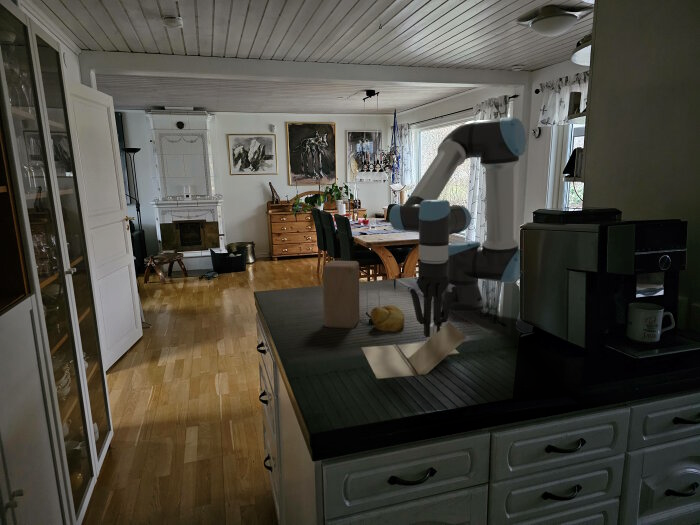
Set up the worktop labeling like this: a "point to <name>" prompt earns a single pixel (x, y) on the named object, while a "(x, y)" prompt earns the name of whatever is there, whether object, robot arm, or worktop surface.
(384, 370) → the laid board
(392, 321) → the bread roll
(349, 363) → the worktop surface
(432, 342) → the near plank
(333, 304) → the wooden block
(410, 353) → the far plank
